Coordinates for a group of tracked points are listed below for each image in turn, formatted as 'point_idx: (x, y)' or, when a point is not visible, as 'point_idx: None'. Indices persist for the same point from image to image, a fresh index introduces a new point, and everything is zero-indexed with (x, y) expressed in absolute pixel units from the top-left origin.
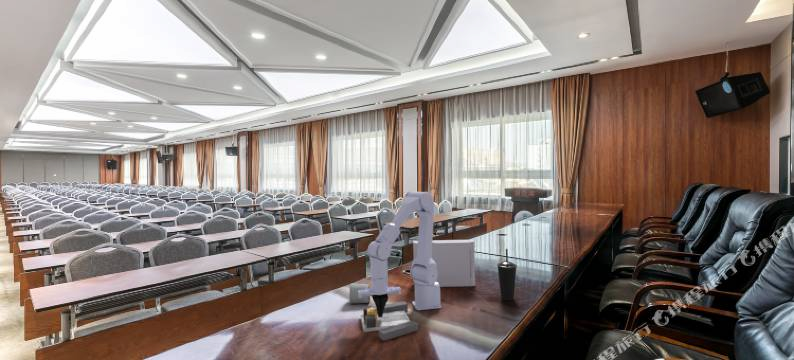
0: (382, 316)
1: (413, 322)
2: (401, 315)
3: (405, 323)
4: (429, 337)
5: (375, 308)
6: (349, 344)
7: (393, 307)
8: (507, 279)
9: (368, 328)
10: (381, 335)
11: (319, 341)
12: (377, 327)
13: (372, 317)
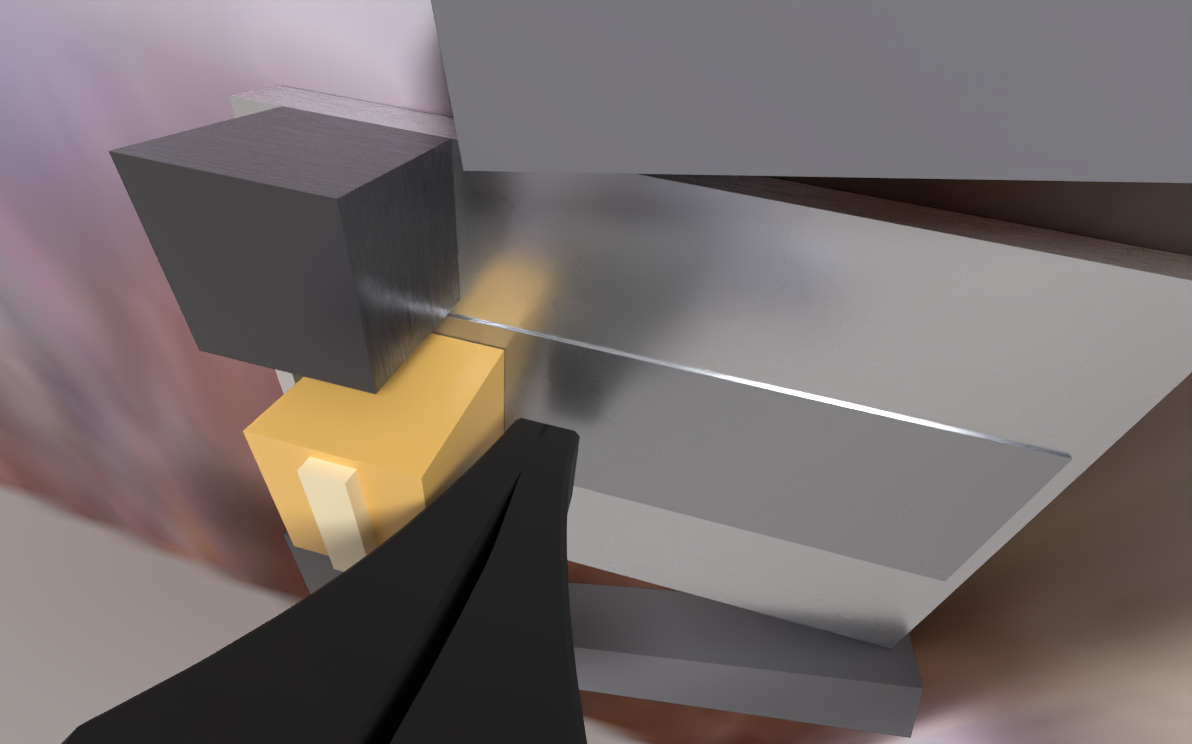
0: (569, 502)
1: (883, 708)
2: (956, 464)
3: (781, 683)
4: (876, 738)
5: (418, 500)
6: (287, 550)
7: (1081, 173)
8: None
9: None
10: None
11: (48, 430)
12: None
13: None
